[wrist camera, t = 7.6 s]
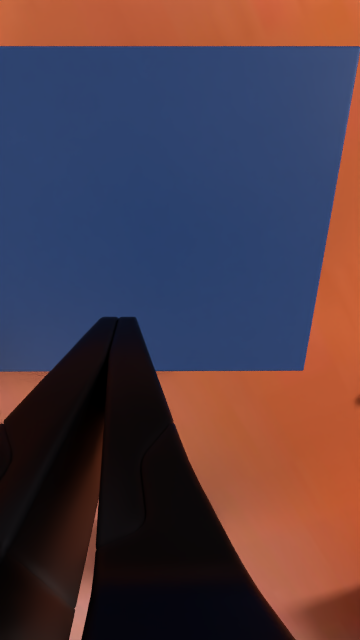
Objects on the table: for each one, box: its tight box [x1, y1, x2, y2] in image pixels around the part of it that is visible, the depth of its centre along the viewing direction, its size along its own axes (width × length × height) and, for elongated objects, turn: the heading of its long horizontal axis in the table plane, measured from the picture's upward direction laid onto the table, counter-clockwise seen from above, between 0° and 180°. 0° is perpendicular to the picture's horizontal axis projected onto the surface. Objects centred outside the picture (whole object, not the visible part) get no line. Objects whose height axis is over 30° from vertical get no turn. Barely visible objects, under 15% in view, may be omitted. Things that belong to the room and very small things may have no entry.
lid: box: [0, 46, 360, 372], centre depth 14 cm, size 12×15×1 cm
